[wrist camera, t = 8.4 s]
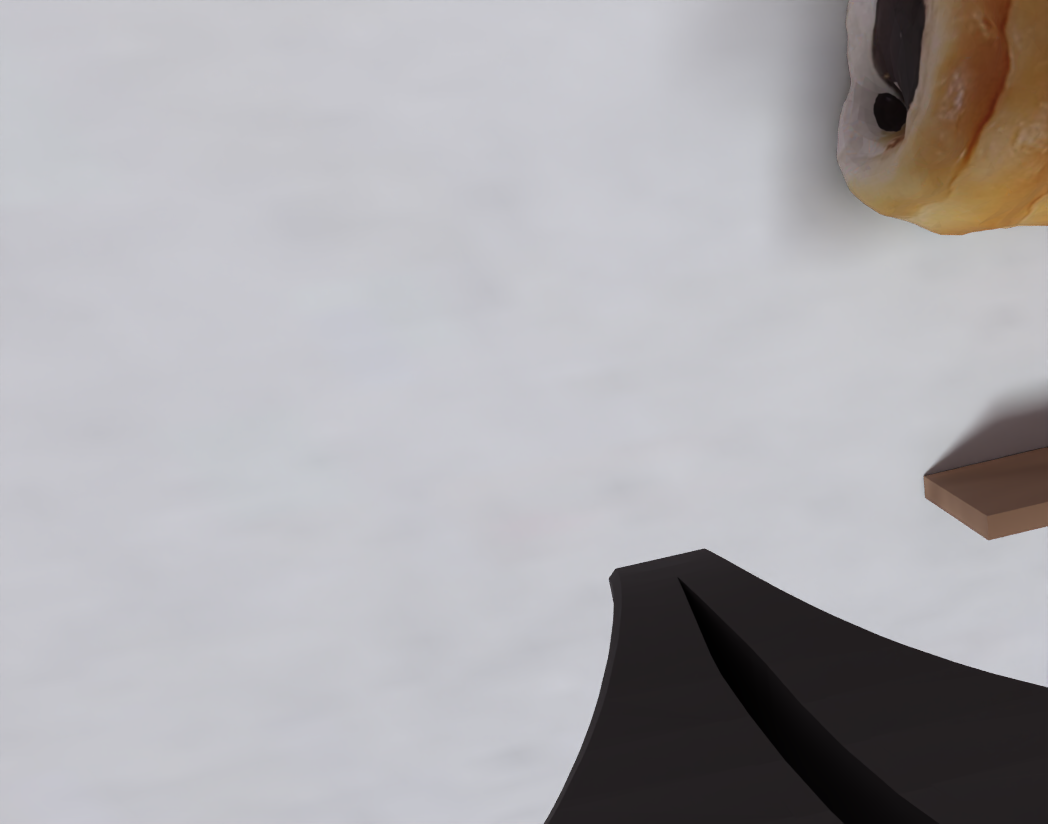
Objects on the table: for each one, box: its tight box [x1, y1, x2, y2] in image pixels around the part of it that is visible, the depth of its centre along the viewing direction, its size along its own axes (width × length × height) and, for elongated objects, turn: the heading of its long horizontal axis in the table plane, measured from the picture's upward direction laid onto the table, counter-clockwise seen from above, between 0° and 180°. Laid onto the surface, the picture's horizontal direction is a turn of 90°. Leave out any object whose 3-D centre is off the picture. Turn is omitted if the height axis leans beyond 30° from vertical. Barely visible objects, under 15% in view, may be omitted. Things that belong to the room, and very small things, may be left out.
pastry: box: [836, 0, 1048, 235], centre depth 16 cm, size 9×7×4 cm
